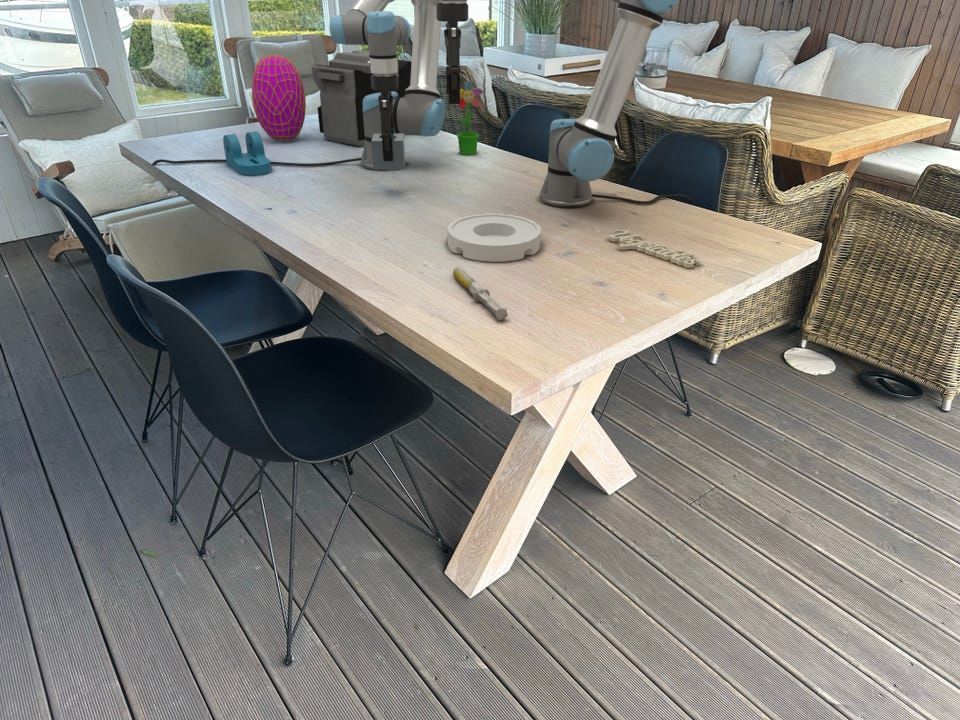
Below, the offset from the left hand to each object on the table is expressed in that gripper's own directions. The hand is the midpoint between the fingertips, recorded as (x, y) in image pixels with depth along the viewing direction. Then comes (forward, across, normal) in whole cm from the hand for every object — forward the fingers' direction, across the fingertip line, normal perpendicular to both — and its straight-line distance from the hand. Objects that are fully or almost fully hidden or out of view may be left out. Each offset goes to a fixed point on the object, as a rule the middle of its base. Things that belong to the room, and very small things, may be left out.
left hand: (389, 156), depth 201 cm
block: (+3, 0, 0) cm, 3 cm away
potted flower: (+12, -49, +25) cm, 56 cm away
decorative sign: (+11, +49, +66) cm, 83 cm away
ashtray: (+11, +43, +28) cm, 53 cm away
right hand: (-21, +25, +18) cm, 38 cm away
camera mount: (+11, -29, -48) cm, 57 cm away
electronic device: (+12, -76, -13) cm, 79 cm away
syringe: (+10, +74, +22) cm, 78 cm away
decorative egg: (+12, -70, -45) cm, 84 cm away
